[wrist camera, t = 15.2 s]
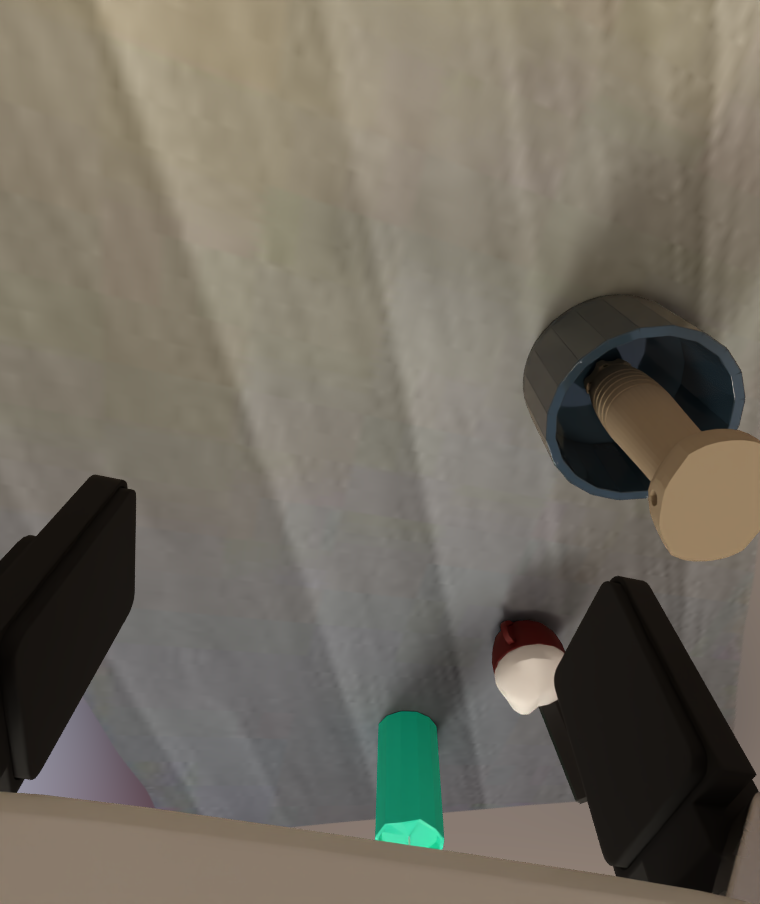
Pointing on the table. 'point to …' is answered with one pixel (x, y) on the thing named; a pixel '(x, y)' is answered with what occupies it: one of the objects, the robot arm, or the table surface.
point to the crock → (647, 349)
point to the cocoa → (535, 684)
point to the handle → (681, 464)
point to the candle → (409, 782)
